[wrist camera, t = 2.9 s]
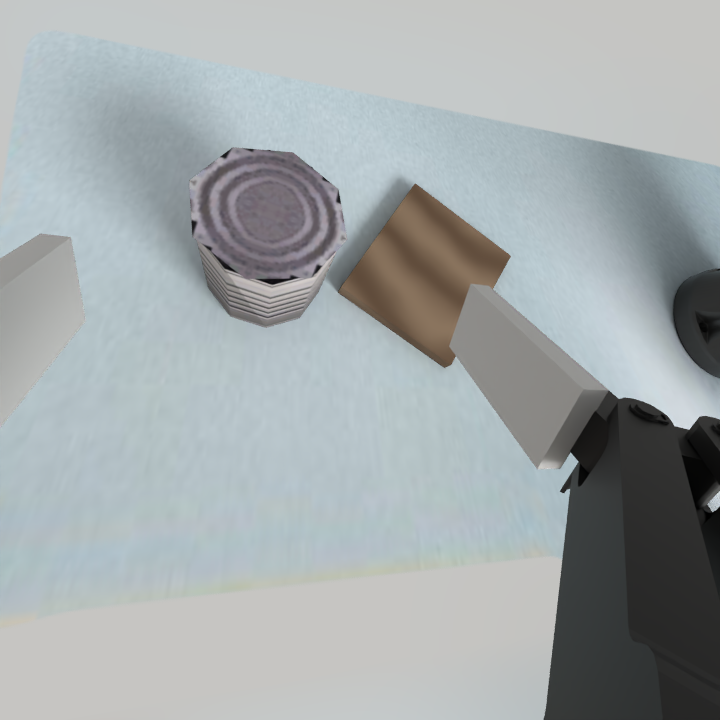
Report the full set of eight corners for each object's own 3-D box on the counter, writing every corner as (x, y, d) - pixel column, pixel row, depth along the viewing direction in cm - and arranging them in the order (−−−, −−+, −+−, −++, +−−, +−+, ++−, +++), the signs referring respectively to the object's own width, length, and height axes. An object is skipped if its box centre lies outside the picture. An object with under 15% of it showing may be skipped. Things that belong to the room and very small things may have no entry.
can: (179, 282, 39) (150, 212, 27) (251, 202, 42) (252, 111, 31) (279, 350, 40) (292, 311, 28) (341, 266, 43) (374, 202, 32)
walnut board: (410, 191, 48) (415, 183, 46) (503, 261, 49) (510, 256, 48) (337, 292, 43) (341, 286, 41) (444, 367, 44) (450, 364, 43)
